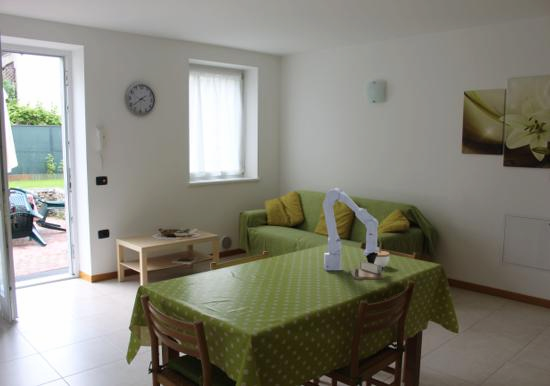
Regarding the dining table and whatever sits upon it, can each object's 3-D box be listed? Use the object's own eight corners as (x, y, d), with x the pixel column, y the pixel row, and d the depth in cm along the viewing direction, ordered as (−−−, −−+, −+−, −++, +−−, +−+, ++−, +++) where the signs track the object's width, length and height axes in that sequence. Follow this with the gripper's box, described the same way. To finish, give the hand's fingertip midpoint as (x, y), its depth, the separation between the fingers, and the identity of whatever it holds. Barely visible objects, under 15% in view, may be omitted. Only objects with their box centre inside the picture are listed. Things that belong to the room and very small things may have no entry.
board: (353, 279, 249) (354, 269, 248) (348, 271, 264) (349, 262, 263) (383, 279, 249) (383, 269, 249) (376, 271, 264) (376, 262, 263)
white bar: (382, 274, 253) (382, 265, 252) (379, 274, 252) (380, 266, 251) (361, 267, 264) (361, 260, 264) (359, 268, 263) (359, 260, 263)
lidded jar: (388, 264, 279) (388, 248, 278) (390, 269, 268) (391, 252, 267) (368, 263, 280) (369, 247, 279) (370, 268, 269) (371, 251, 268)
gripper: (372, 244, 251) (371, 270, 252) (384, 240, 262) (384, 264, 264) (359, 242, 255) (359, 268, 257) (372, 238, 267) (372, 262, 268)
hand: (370, 266), depth 261 cm, fingers closed
